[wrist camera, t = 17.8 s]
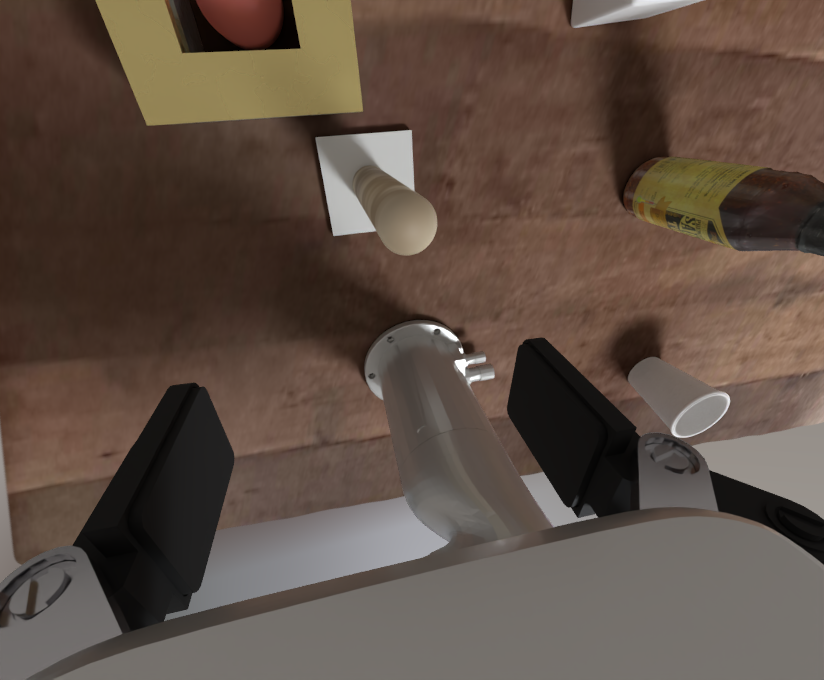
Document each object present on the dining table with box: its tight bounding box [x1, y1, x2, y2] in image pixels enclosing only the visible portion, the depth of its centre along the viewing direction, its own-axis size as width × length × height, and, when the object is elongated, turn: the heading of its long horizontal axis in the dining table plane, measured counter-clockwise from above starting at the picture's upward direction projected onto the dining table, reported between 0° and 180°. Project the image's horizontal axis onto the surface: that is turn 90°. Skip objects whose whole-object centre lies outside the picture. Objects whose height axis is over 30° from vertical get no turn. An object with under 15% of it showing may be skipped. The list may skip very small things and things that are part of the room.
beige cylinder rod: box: [352, 165, 437, 255], centre depth 24 cm, size 3×3×15 cm
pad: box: [315, 130, 414, 236], centre depth 31 cm, size 8×8×1 cm
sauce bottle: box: [623, 157, 824, 256], centre depth 29 cm, size 7×6×20 cm
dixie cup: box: [628, 357, 730, 437], centre depth 50 cm, size 8×8×10 cm
